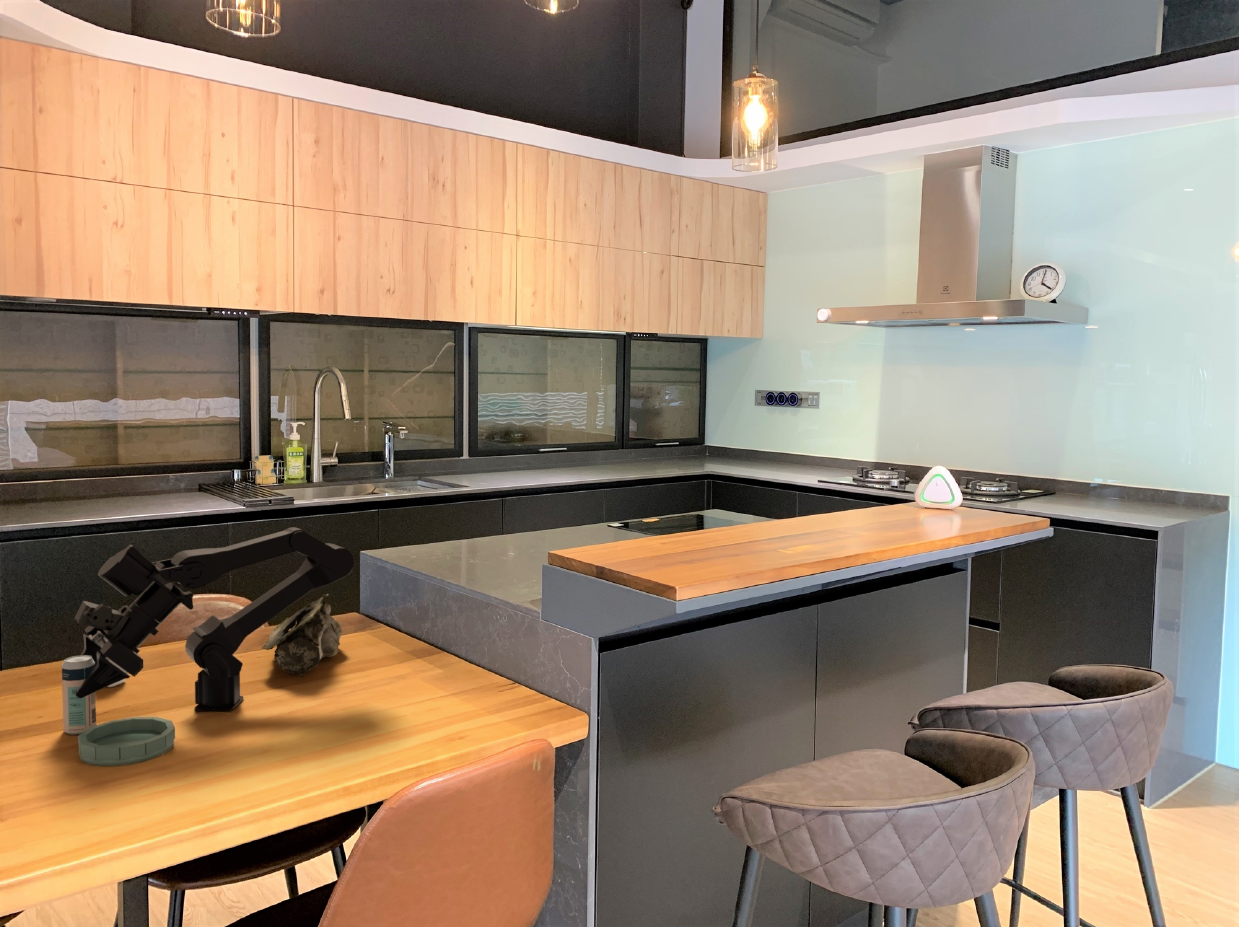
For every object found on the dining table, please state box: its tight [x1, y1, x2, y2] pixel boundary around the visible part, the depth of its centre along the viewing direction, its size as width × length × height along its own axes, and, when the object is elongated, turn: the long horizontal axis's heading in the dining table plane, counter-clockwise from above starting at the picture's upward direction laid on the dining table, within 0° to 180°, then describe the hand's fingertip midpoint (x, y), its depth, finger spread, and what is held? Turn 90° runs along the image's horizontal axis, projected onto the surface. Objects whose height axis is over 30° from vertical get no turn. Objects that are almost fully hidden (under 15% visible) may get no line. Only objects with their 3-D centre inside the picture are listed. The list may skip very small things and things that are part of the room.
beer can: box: [60, 654, 97, 736], centre depth 152 cm, size 5×5×12 cm
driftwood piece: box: [261, 593, 343, 677], centre depth 192 cm, size 28×13×15 cm
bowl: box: [77, 716, 176, 767], centre depth 145 cm, size 13×13×3 cm
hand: (72, 688), depth 151 cm, fingers open, 9 cm apart
